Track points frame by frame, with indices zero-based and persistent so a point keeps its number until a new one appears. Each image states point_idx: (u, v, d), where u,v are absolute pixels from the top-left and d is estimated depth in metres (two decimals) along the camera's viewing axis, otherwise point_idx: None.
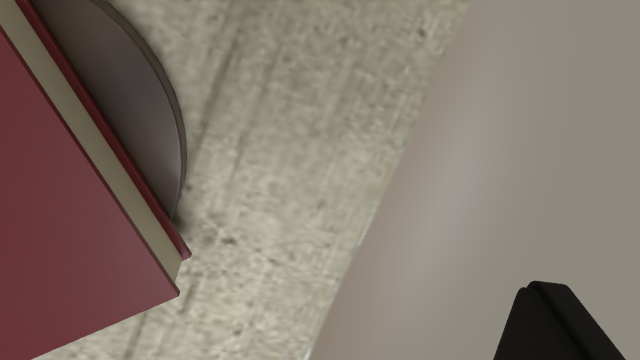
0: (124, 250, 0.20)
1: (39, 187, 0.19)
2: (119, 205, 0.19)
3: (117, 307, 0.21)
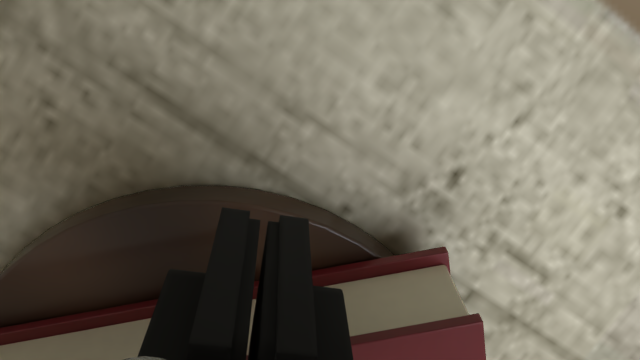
0: None
1: None
2: None
3: None
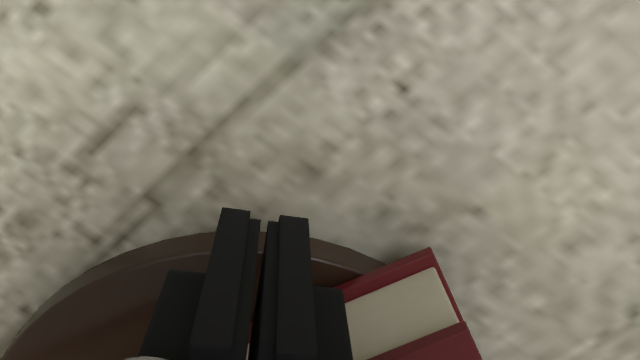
0: None
1: None
2: None
3: None
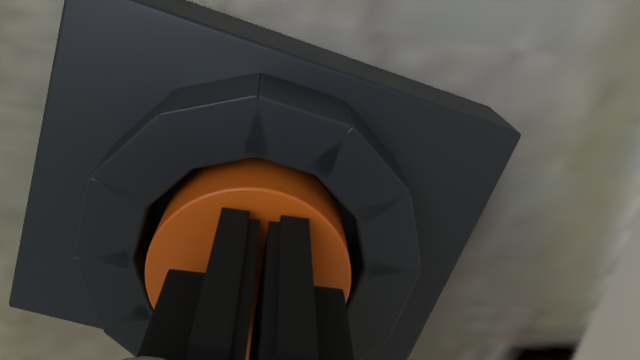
0: None
1: None
2: None
3: None
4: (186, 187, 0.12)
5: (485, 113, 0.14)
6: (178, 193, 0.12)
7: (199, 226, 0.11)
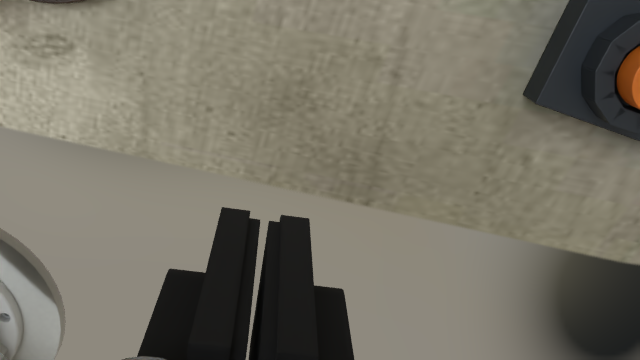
0: None
1: None
2: None
3: None
4: None
5: None
6: (637, 52, 0.33)
7: None
